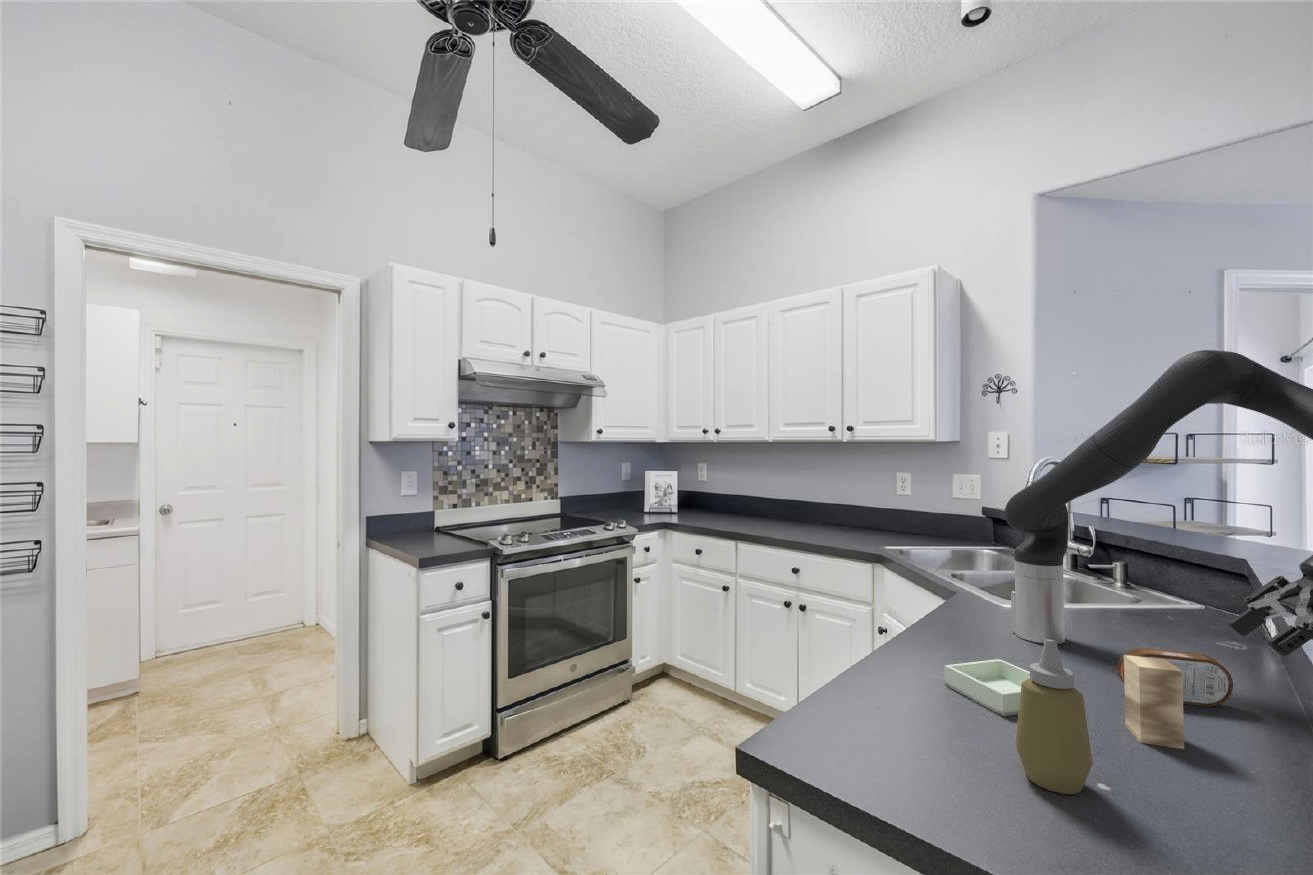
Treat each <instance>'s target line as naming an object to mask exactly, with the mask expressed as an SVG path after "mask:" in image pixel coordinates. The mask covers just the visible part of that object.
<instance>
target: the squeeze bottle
mask: <svg viewBox="0 0 1313 875" xmlns="http://www.w3.org/2000/svg"><path fill="white" fill-rule="evenodd" d="M1029 672H1030V679H1027V680H1025V681H1024V682H1022V684H1021V694H1020V704H1019V713H1018V714H1017V725H1016V734H1015V735H1016V736H1015V747H1016V750H1017V753H1018V756H1019V759H1020V761H1021V764H1022V766H1023V770H1024V772H1025V776H1026V777H1027V778H1028V779H1029V780H1030V781H1031V782H1032V783H1034V784H1035V785H1037V786H1039V787H1041V788H1043V789H1046V790H1048V791H1050V792H1055V793H1058V794H1064V795H1075V794H1079V793H1081V791H1082V789H1083V788H1084V785H1085V784H1086V781H1087V778H1088V776H1089V774H1090V772H1091V769H1092V767H1093V764H1094V763H1093V756H1092V751H1091V743H1090V736H1089V728H1088V723H1087V721H1088V720H1087V714H1086V709H1085V708H1086V707H1085V701H1084V695H1083V693H1081V692H1080V691H1079V690H1078V689H1077V688H1075V687H1074V686H1075V679H1074V678H1075V676H1074V673H1073V671H1072V670H1070V669H1069V668H1066V667H1064V666H1063V662H1062V659H1061V655H1060V652H1059V647H1058V644H1057V643H1056V641H1054V640H1050V639H1046V640H1045V642H1044V643H1043V647H1042V651H1041V656H1040V658H1039V662H1033V663H1031V664H1030V665H1029Z"/></svg>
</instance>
